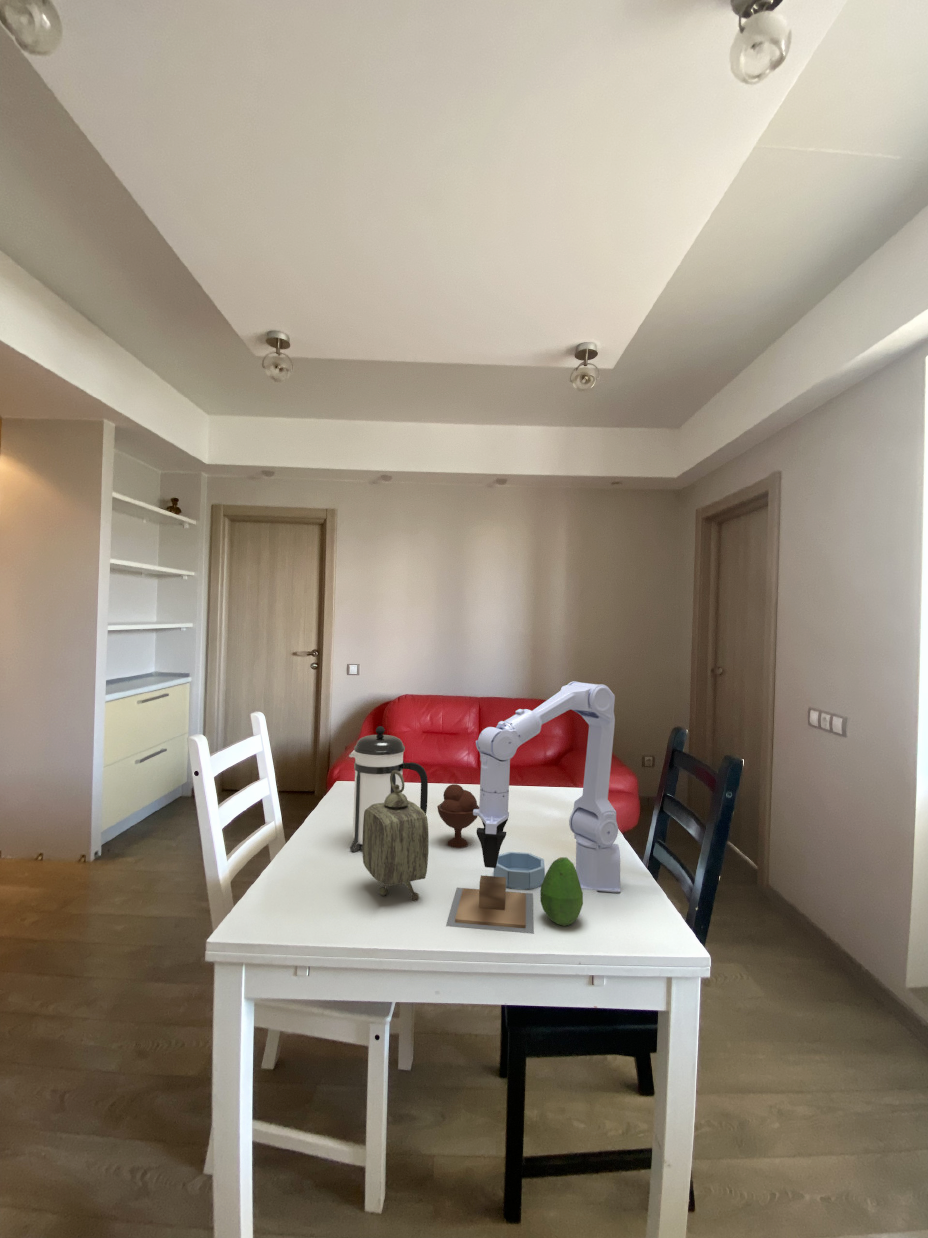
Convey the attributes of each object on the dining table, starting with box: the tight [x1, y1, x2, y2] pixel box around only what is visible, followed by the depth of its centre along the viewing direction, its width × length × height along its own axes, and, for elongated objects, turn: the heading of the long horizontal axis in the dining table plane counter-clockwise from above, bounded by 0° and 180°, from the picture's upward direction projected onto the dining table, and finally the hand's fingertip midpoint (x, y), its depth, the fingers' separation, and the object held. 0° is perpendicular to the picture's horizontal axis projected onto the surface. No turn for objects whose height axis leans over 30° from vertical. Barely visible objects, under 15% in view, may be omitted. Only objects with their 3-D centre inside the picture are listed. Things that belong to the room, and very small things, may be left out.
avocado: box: [539, 857, 584, 927], centre depth 106 cm, size 8×8×12 cm
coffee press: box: [348, 725, 429, 853], centre depth 143 cm, size 17×16×30 cm
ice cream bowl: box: [437, 783, 479, 849], centre depth 145 cm, size 11×11×15 cm
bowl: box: [493, 851, 546, 891], centre depth 124 cm, size 11×11×4 cm
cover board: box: [455, 875, 527, 928], centre depth 110 cm, size 13×13×6 cm
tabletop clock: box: [361, 770, 430, 902], centre depth 116 cm, size 14×9×25 cm, turn 30°
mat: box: [445, 887, 535, 935], centre depth 110 cm, size 16×16×1 cm
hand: (491, 859), depth 110 cm, fingers open, 7 cm apart
